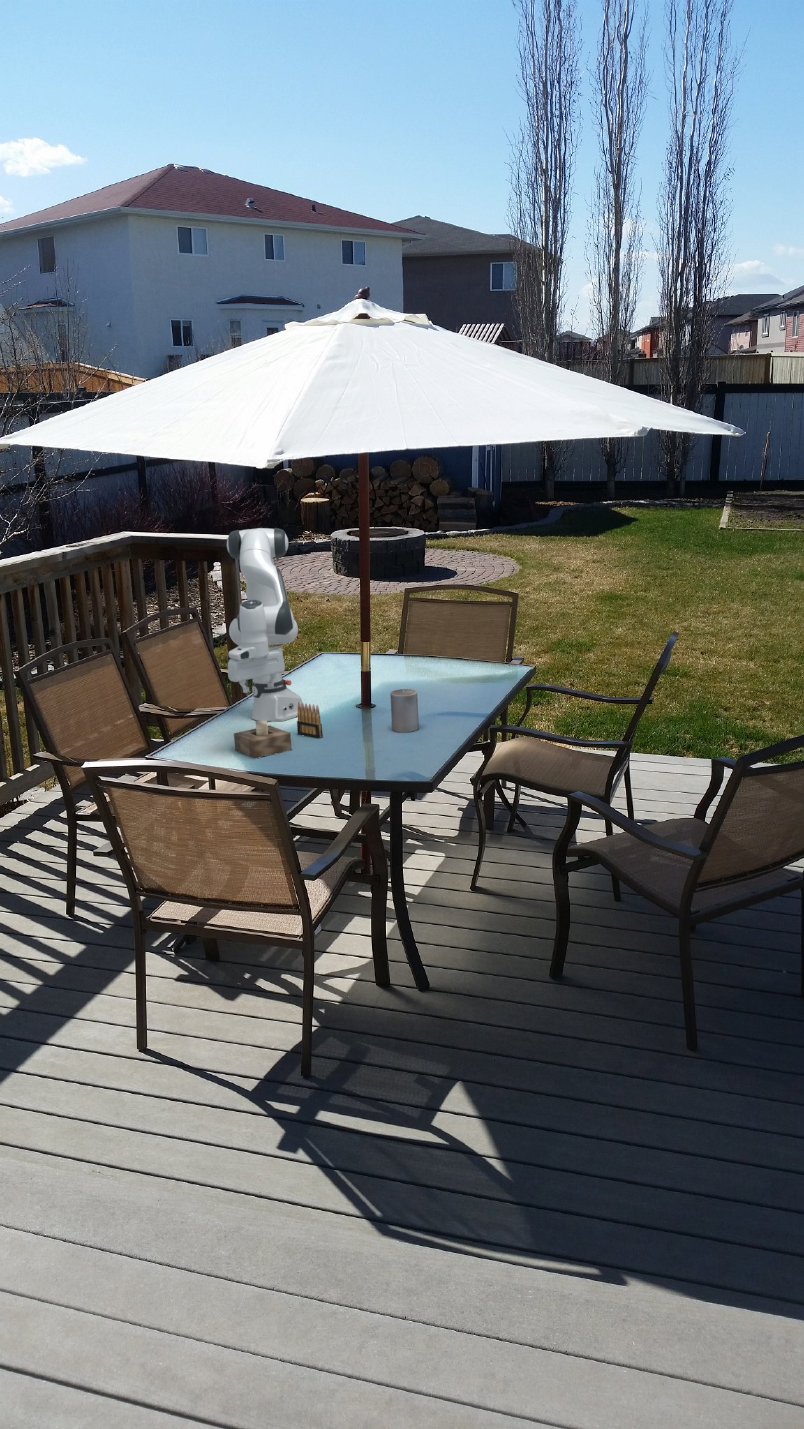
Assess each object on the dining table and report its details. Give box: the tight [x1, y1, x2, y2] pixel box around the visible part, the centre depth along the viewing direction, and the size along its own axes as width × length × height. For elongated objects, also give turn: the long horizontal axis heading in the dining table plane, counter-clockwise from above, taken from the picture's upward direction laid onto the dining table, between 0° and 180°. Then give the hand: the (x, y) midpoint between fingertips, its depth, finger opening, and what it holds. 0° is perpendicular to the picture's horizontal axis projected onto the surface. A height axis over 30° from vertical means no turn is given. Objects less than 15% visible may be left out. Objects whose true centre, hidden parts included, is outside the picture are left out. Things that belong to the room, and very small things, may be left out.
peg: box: [254, 720, 269, 737], centre depth 363 cm, size 4×4×10 cm
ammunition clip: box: [296, 702, 324, 740], centre depth 377 cm, size 11×2×12 cm, turn 52°
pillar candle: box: [390, 688, 420, 734], centre depth 380 cm, size 10×10×15 cm
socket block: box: [233, 724, 293, 759], centre depth 364 cm, size 14×14×6 cm
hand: (258, 689), depth 359 cm, fingers open, 8 cm apart
